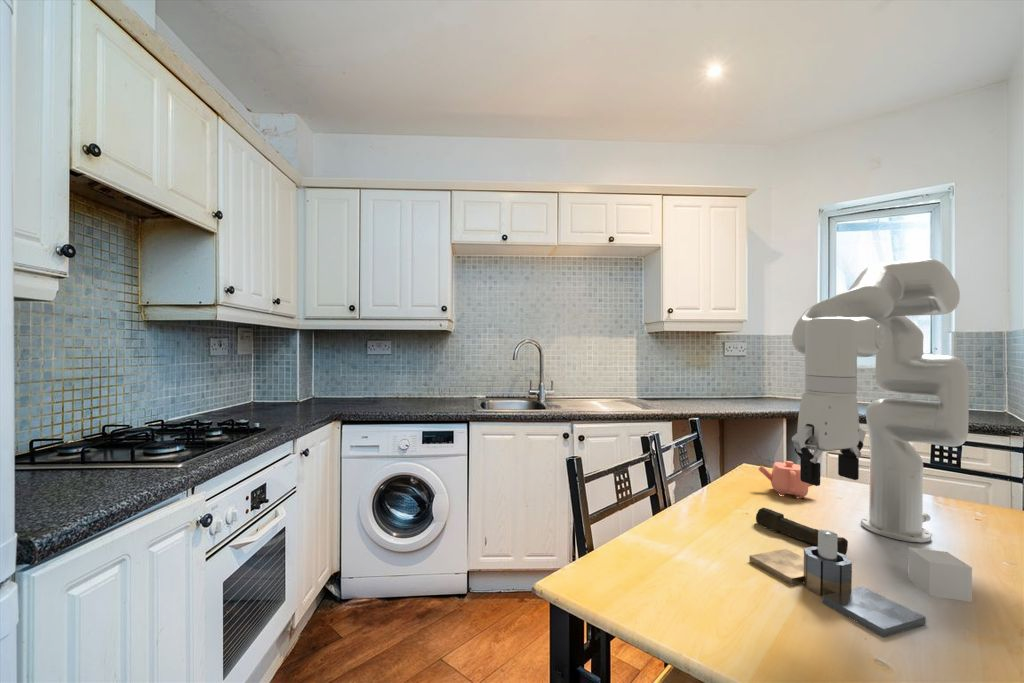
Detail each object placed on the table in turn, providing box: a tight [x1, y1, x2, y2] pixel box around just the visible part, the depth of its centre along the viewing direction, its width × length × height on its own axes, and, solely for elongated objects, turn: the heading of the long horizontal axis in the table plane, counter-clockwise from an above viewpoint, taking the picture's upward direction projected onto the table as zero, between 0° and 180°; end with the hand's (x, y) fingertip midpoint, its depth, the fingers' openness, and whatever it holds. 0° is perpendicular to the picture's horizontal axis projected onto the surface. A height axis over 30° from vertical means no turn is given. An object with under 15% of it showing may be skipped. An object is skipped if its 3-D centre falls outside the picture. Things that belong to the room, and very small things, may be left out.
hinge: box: [748, 545, 927, 638], centre depth 77 cm, size 10×24×6 cm, turn 19°
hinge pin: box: [817, 529, 838, 562], centre depth 77 cm, size 3×3×10 cm
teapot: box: [757, 460, 814, 499], centre depth 129 cm, size 12×12×10 cm
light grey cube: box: [907, 546, 973, 603], centre depth 78 cm, size 6×6×6 cm
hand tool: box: [755, 507, 849, 556], centre depth 98 cm, size 19×4×5 cm, turn 26°
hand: (829, 480), depth 78 cm, fingers open, 9 cm apart
